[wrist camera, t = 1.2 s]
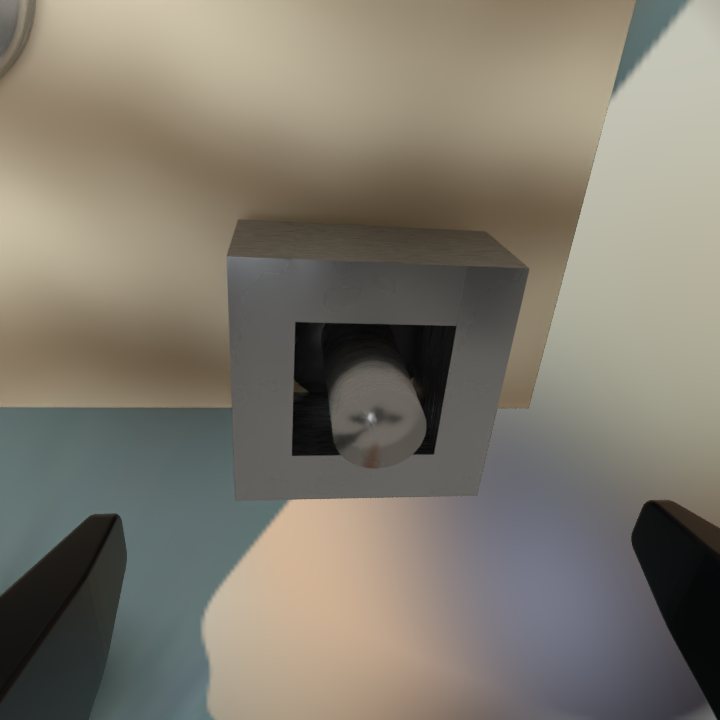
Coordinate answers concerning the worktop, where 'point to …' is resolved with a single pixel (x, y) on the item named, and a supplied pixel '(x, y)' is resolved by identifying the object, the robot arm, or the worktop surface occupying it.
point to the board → (273, 166)
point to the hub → (14, 30)
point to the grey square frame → (366, 306)
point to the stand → (364, 387)
